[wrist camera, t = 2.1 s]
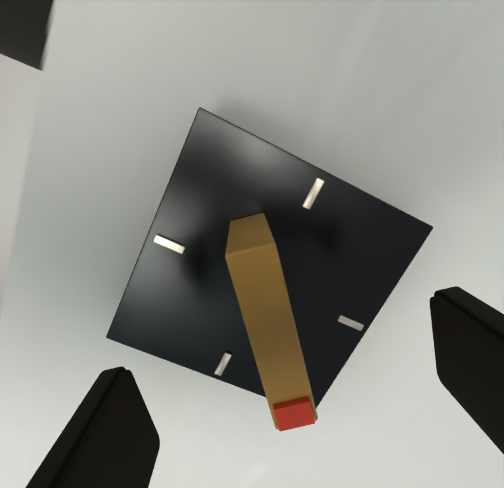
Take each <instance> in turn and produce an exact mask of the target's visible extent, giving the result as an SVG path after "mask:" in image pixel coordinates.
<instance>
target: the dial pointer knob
mask: <svg viewBox="0 0 504 488" xmlns="http://www.w3.org/2000/svg"><path fill="white" fill-rule="evenodd" d="M225 259H226V262H227V265H228V269H229V272H230V276H231V279H232V282H233V286H234V289H235V292H236V296H237V299H238V303H239V306H240V309H241V313H242V316H243V320H244V323H245V326H246V330H247V333H248V337H249V340H250V343H251V347H252V350H253V354H254V357H255V360H256V364H257V367H258V370H259V374H260V377H261V381H262V384H263V387H264V391H265V394H266V398H267V401H268V404H269V408H270V411H271V415H272V418H273V421H274V425H275V427H276V429H279V431H284V430H288V429H293V428H297V427H301V426H306V425H310V424H314V423H315V421H316V420H317V418H318V416H317V412H316V408H315V404H314V400H313V396H312V391H311V387H310V383H309V379H308V375H307V371H306V367H305V363H304V358H303V354H302V350H301V346H300V342H299V338H298V334H297V329H296V325H295V321H294V317H293V313H292V309H291V305H290V301H289V296H288V292H287V288H286V284H285V280H284V276H283V272H282V267H281V263H280V259H279V255H278V251H277V247H276V243H275V241H274V238H273V236H272V233H271V231H270V228H269V225H268V223H267V220H266V218H265V215H264V214H263V213H260V214H256V215H252V216H248V217H244V218H240V219H236V220H233V221H231V222H230V227H229V234H228V241H227V247H226V254H225Z"/></svg>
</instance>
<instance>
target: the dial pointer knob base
mask: <svg viewBox="0 0 504 488" xmlns="http://www.w3.org/2000/svg"><path fill="white" fill-rule="evenodd" d="M260 213H263V214H264V215H265V218H266V220H267V223H268V225H269V228H270V231H271V233H272V236H273V238H274V241H275V243H276V247H277V251H278V255H279V259H280V263H281V267H282V272H283V276H284V280H285V284H286V288H287V292H288V296H289V301H290V305H291V309H292V313H293V317H294V321H295V325H296V329H297V334H298V338H299V342H300V346H301V350H302V354H303V358H304V363H305V367H306V371H307V375H308V379H309V383H310V387H311V391H312V396H313V400H314V404H315V408H317V406H318V405H319V403H320V402H321V400H322V399H323V397H324V395H325V394H326V392H327V391H328V389H329V388H330V386H331V385H332V383H333V382H334V380H335V379H336V377H337V375H338V374H339V372H340V371H341V369H342V368H343V366H344V365H345V363H346V362H347V360H348V359H349V357H350V355H351V354H352V352H353V351H354V349H355V348H356V346H357V345H358V343H359V342H360V340H361V338H362V337H363V335H364V334H365V332H366V331H367V329H368V328H369V326H370V325H371V323H372V322H373V320H374V318H375V317H376V315H377V314H378V312H379V311H380V309H381V308H382V306H383V305H384V303H385V302H386V300H387V298H388V297H389V295H390V294H391V292H392V291H393V289H394V288H395V286H396V285H397V283H398V281H399V280H400V278H401V277H402V275H403V274H404V272H405V271H406V269H407V268H408V266H409V265H410V263H411V261H412V260H413V258H414V257H415V255H416V254H417V252H418V251H419V249H420V248H421V246H422V245H423V243H424V241H425V240H426V238H427V237H428V235H429V234H430V232H431V231H432V229H433V227H432V226H431V225H429V224H427V223H425V222H423V221H421V220H419V219H417V218H415V217H413V216H411V215H409V214H407V213H405V212H403V211H401V210H399V209H397V208H396V207H394V206H392V205H390V204H388V203H386V202H384V201H382V200H380V199H378V198H376V197H374V196H372V195H370V194H368V193H366V192H364V191H362V190H360V189H359V188H357V187H355V186H353V185H351V184H349V183H347V182H345V181H343V180H341V179H339V178H337V177H335V176H333V175H331V174H329V173H327V172H325V171H323V170H322V169H320V168H318V167H316V166H314V165H312V164H310V163H308V162H306V161H304V160H302V159H300V158H298V157H296V156H294V155H292V154H290V153H288V152H286V151H285V150H283V149H281V148H279V147H277V146H275V145H273V144H271V143H269V142H267V141H265V140H263V139H261V138H259V137H257V136H255V135H253V134H251V133H249V132H248V131H246V130H244V129H242V128H240V127H238V126H236V125H234V124H232V123H230V122H228V121H226V120H224V119H222V118H220V117H218V116H216V115H214V114H212V113H211V112H209V111H207V110H205V109H203V108H201V107H199V109H198V111H197V114H196V116H195V119H194V121H193V123H192V126H191V128H190V131H189V133H188V136H187V138H186V141H185V143H184V146H183V148H182V151H181V153H180V156H179V158H178V161H177V163H176V165H175V168H174V170H173V173H172V175H171V178H170V180H169V183H168V185H167V188H166V190H165V193H164V195H163V198H162V200H161V203H160V205H159V207H158V210H157V212H156V215H155V217H154V220H153V222H152V225H151V227H150V230H149V232H148V235H147V237H146V240H145V242H144V245H143V247H142V249H141V252H140V254H139V257H138V259H137V262H136V264H135V267H134V269H133V272H132V274H131V277H130V279H129V282H128V284H127V287H126V289H125V291H124V294H123V296H122V299H121V301H120V304H119V306H118V309H117V311H116V314H115V316H114V319H113V321H112V324H111V326H110V329H109V331H108V333H107V336H106V338H108V339H111V340H113V341H116V342H119V343H122V344H124V345H127V346H130V347H132V348H135V349H138V350H140V351H143V352H146V353H148V354H151V355H154V356H156V357H159V358H162V359H165V360H167V361H170V362H173V363H175V364H178V365H181V366H183V367H186V368H189V369H191V370H194V371H197V372H199V373H202V374H205V375H208V376H210V377H213V378H216V379H218V380H221V381H224V382H226V383H229V384H232V385H234V386H237V387H240V388H242V389H245V390H248V391H251V392H253V393H256V394H259V395H261V396H264V397H266V394H265V391H264V387H263V384H262V381H261V377H260V374H259V370H258V367H257V364H256V360H255V357H254V354H253V350H252V347H251V343H250V340H249V337H248V333H247V330H246V326H245V323H244V320H243V316H242V313H241V309H240V306H239V303H238V299H237V296H236V292H235V289H234V286H233V282H232V279H231V276H230V272H229V269H228V265H227V262H226V259H225V254H226V247H227V241H228V234H229V227H230V222H231V221H233V220H236V219H240V218H244V217H248V216H252V215H256V214H260Z"/></svg>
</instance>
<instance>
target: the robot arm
mask: <svg viewBox="0 0 504 488" xmlns="http://www.w3.org/2000/svg"><path fill="white" fill-rule="evenodd" d="M430 310H431V320H432V330H433V339H434V349H435V358H436V368H437V374H438V377H439V379H440V381H441V383H442V384H443V385H444V386H445V388H446V389H447V390H448V391H449V392H450V393H451V395H452V396H453V397H454V398H455V399H456V400H457V401H458V403H459V404H460V405H461V406H462V407H463V408H464V409H465V411H466V412H467V413H468V414H469V415H470V416H471V417H472V419H473V420H474V421H475V422H476V423H477V424H478V425H479V427H480V428H481V429H482V430H483V431H484V432H485V433H486V435H487V436H488V437H489V438H490V439H491V440H492V441H493V443H494V444H495V445H496V446H497V447H498V448H499V449H500V451H501V452H502V453H503V454H504V314H502V313H501V312H499V311H497V310H496V309H494V308H492V307H491V306H489V305H487V304H486V303H484V302H482V301H481V300H479V299H478V298H476V297H474V296H473V295H471V294H469V293H468V292H466V291H464V290H463V289H461V288H459V287H457V286H456V287H451V288H447V289H442V290H438V291H436V292H435V294H434V297H431V298H430ZM159 447H160V440H159V435H158V433H157V430H156V428H155V426H154V423H153V421H152V419H151V416H150V414H149V412H148V409H147V407H146V405H145V402H144V400H143V398H142V395H141V393H140V391H139V388H138V386H137V384H136V381H135V379H134V377H133V374H132V372H131V371H130V370H126V369H125V368H124V367H117V368H113V369H108V370H104V371H102V372H101V373H100V375H99V376H98V378H97V380H96V381H95V383H94V384H93V386H92V387H91V389H90V390H89V392H88V393H87V395H86V396H85V398H84V399H83V401H82V402H81V404H80V405H79V407H78V408H77V410H76V412H75V413H74V415H73V416H72V418H71V419H70V421H69V422H68V424H67V425H66V427H65V428H64V430H63V431H62V433H61V434H60V436H59V437H58V439H57V440H56V442H55V444H54V445H53V447H52V448H51V450H50V451H49V453H48V454H47V456H46V457H45V459H44V460H43V462H42V463H41V465H40V466H39V468H38V469H37V471H36V473H35V474H34V476H33V477H32V479H31V480H30V482H29V483H28V485H27V486H26V488H148V486H149V483H150V479H151V476H152V472H153V469H154V465H155V462H156V458H157V455H158V451H159Z"/></svg>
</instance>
